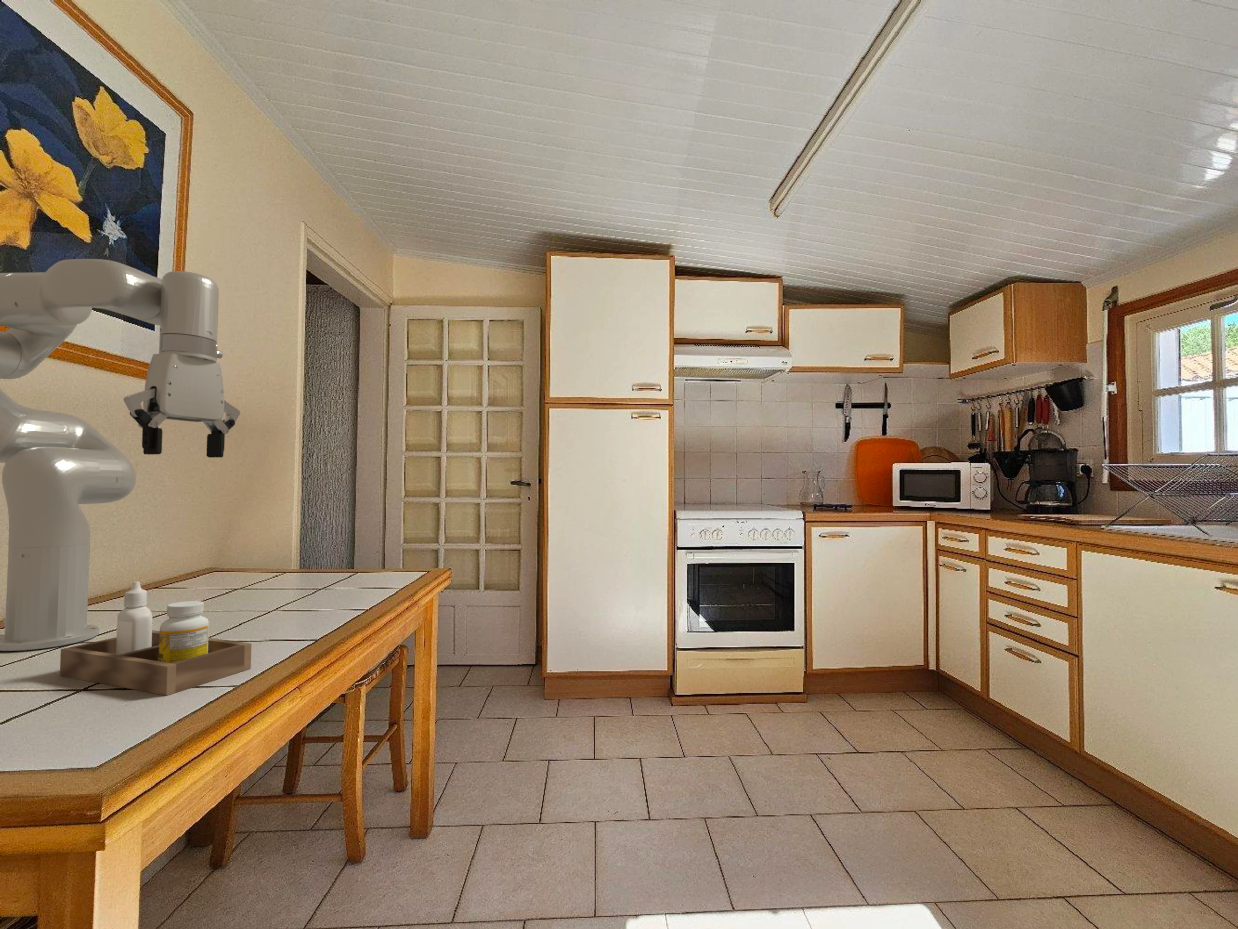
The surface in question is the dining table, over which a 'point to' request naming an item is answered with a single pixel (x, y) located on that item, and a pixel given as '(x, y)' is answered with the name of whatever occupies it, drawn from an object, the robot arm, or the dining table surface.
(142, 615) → the eye dropper bottle
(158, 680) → the walnut rack
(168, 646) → the supplement bottle
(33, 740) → the dining table surface
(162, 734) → the dining table surface
